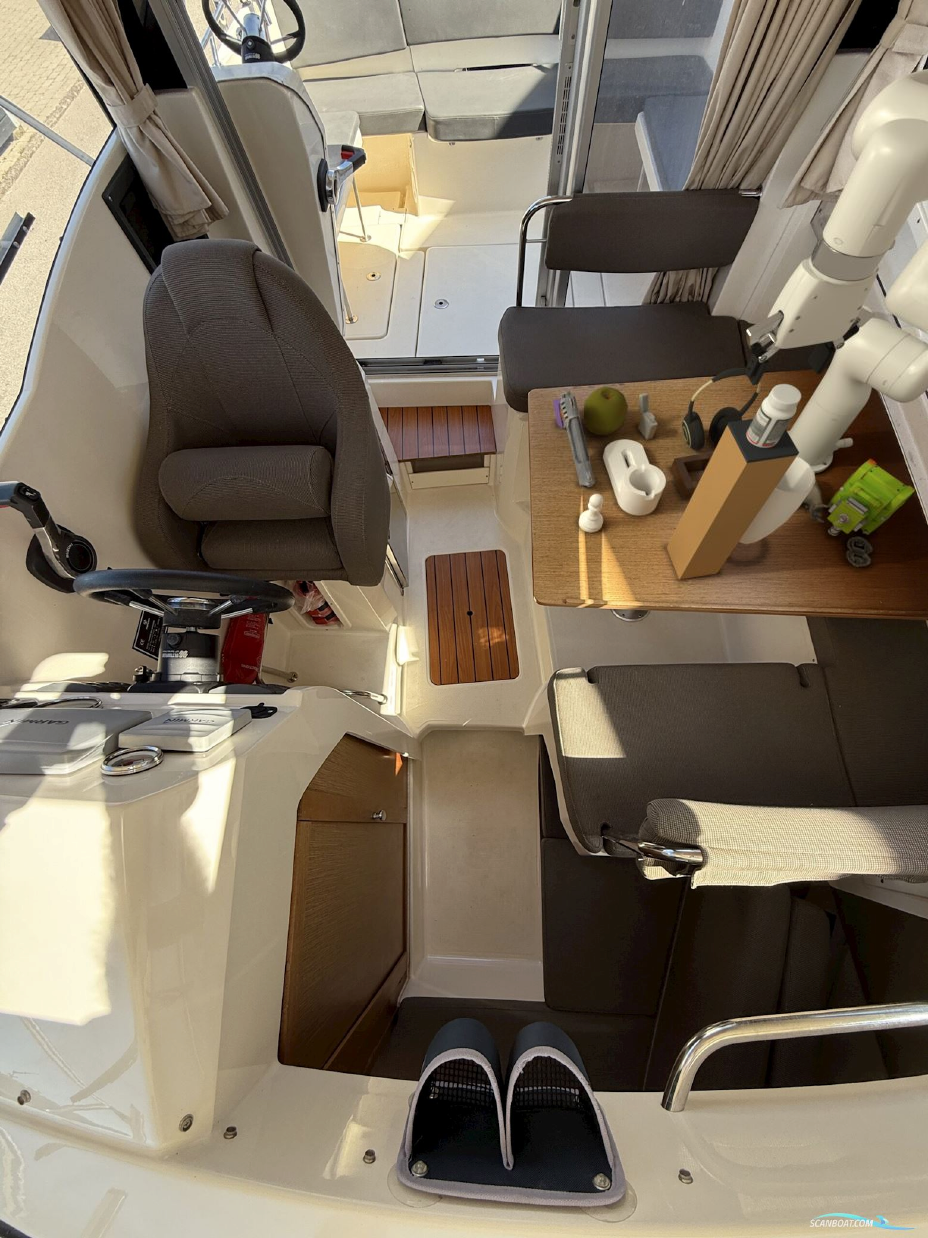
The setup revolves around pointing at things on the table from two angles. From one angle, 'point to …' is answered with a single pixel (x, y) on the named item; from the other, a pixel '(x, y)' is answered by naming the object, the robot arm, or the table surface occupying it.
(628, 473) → the bracket
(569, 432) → the handgun
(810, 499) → the rhino figurine
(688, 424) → the headphones
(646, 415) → the grey angled piece
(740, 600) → the table surface
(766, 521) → the cup
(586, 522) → the chess pawn
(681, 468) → the holder
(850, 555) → the corroded twin loop
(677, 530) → the black-topped square pillar
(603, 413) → the apple
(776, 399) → the pill bottle
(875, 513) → the lime green boxy piece
